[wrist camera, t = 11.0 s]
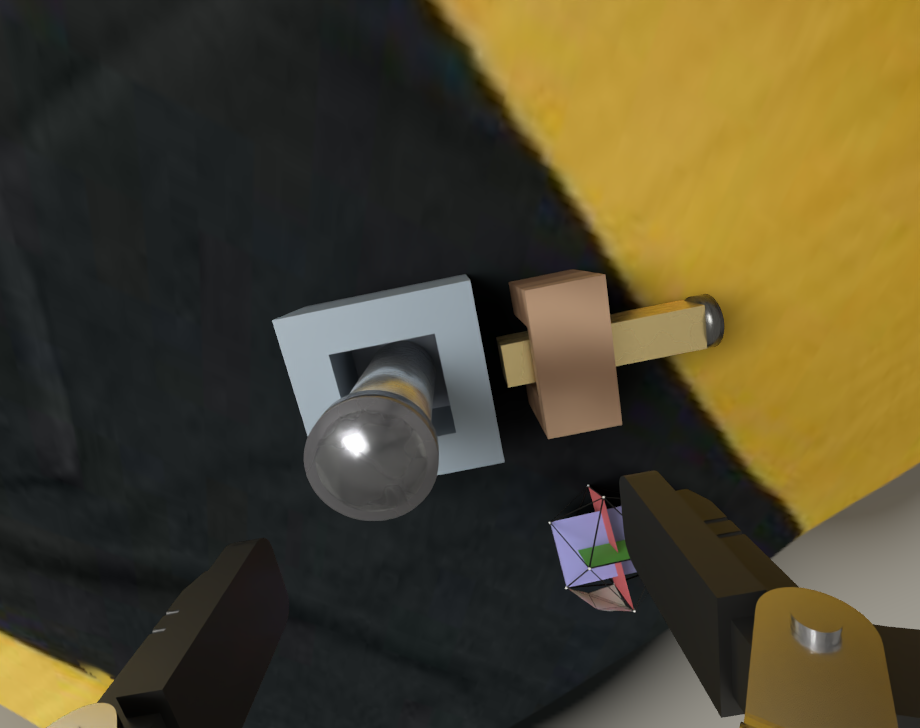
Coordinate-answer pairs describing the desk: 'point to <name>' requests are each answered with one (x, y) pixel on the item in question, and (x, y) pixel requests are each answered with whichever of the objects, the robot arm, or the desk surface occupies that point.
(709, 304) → the lock pin
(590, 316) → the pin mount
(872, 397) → the desk surface
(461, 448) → the dock socket
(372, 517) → the silver round-topped cylinder
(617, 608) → the geometric puzzle
